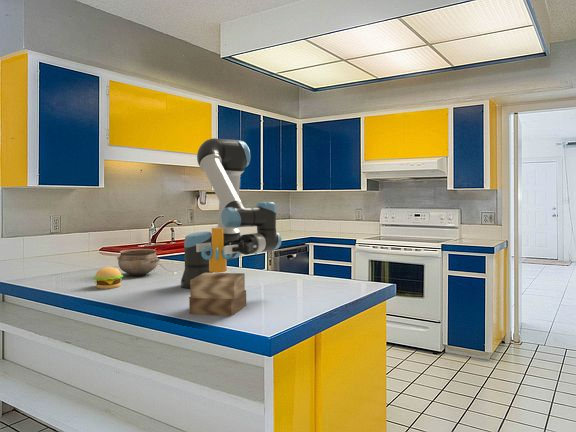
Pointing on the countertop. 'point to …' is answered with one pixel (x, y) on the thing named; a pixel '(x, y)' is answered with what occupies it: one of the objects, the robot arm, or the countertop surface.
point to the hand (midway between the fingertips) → (210, 249)
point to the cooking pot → (138, 261)
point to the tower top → (217, 285)
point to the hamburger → (108, 278)
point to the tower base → (217, 305)
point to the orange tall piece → (216, 252)
